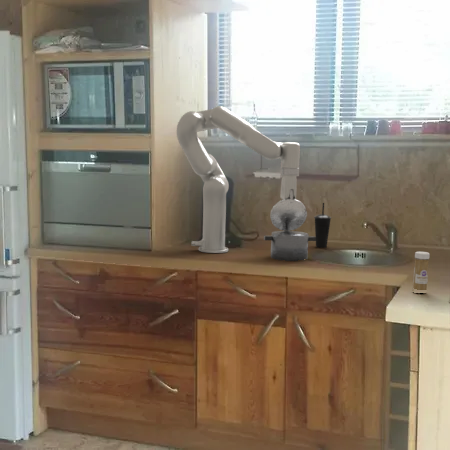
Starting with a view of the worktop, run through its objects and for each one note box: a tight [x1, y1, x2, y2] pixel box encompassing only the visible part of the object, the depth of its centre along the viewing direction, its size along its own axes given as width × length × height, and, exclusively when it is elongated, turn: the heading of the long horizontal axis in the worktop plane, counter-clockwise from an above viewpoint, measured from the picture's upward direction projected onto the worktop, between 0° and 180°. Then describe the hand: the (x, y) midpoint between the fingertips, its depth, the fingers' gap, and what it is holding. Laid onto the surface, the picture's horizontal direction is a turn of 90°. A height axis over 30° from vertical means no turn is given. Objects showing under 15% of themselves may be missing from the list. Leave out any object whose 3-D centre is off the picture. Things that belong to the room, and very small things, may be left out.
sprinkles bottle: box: [412, 251, 431, 291], centre depth 229 cm, size 5×5×14 cm
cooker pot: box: [263, 230, 316, 262], centre depth 288 cm, size 21×16×10 cm
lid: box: [269, 198, 308, 231], centre depth 291 cm, size 15×15×3 cm
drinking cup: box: [313, 202, 332, 249], centre depth 316 cm, size 8×8×20 cm
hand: (288, 216), depth 292 cm, fingers closed
